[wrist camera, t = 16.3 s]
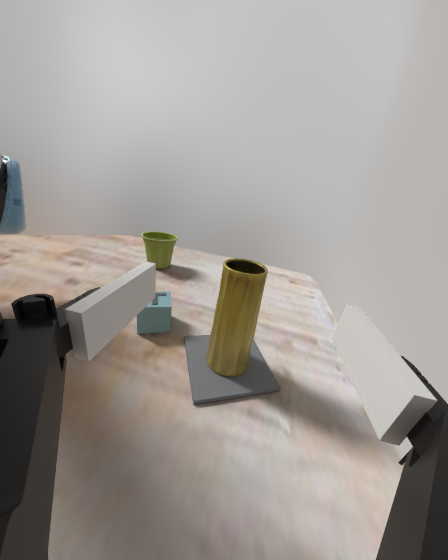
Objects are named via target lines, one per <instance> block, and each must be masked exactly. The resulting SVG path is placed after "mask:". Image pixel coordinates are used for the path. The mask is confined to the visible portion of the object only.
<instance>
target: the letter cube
mask: <svg viewBox="0 0 448 560" xmlns="http://www.w3.org/2000/svg"><path fill="white" fill-rule="evenodd" d="M171 307H172V306H171V293H170V292H155V298H154V299H153V300H152V301H151V302H150V303H149V304H148V305H147V306H146V307H145V308H144V309H143V310H142V311H141V312H140V313H139V314H138V315H137V334H149V333H168V332H170V327H171Z"/></svg>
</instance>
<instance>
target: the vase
mask: <svg viewBox="0 0 448 560" xmlns="http://www.w3.org/2000/svg"><path fill="white" fill-rule="evenodd" d="M267 273H268V270H267V268H266V267H265V266H264V265H262V264H260V263H257V262H255V261H251V260H246V259H229V260H226V261H224V263H223V272H222V278H221V285H220V291H219V296H218V300H217V305H216V309H215V315H214V322H213V327H212V331H211V336H210V341H209V348H208V352H207V354H206V360H207V363H208V365H209V367H210V368H211V369H212V370H213V371H215V372H216V373H218V374H220V375H223V376H238V375H240V374H242V373H244V372H245V371H246V370H247V368H248V366H249V359H250V354H251V348H252V343H253V338H254V333H255V329H256V324H257V318H258V314H259V309H260V304H261V299H262V295H263V290H264V285H265V281H266V277H267Z"/></svg>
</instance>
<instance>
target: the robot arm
mask: <svg viewBox="0 0 448 560" xmlns="http://www.w3.org/2000/svg"><path fill="white" fill-rule="evenodd" d="M25 227H26V221H25V210H24V200H23V190H22V181H21V172H20V165H19V163H18V162H17V161H15V160H14V159H11V158H8V157H6V156H0V235H4V234H19V233H21V232H23V231H24V229H25ZM155 276H156V264H155V263H150V262H144V263H142V264H140V265H139V266H137V267H135V268H134V269H132V270H130V271H129V272H127V273H125V274H124V275H122V276H120V277H118V278H117V279H115V280H113V281H112V282H110V283H108V284H107V285H105V286H103V287H102V288H100V287H98V288H95V289H92V290H89V291H87V292H85V293H84V294H82V295H81V296H78V297H77V298H75V299H73V300H71V301H69V302H68V303H66V304H64V305H62V306H61V307H59V308H57V309H56V307H55V302H54V298H53V296H51V295H48V294H33V295H28V296H24V297H21V298H19V299H17V300H15V301H14V302H13V303H12V307H13V311H14V314H15V317H16V319H3V318H2V315H1V313H0V560H48V542H49V532H50V522H51V512H52V502H53V492H54V481H55V471H56V461H57V451H58V441H59V431H60V421H61V411H62V400H63V390H64V380H65V370H66V355H65V354H66V353H67V352H69V351H70V350H71V349H73V354H74V358H76V359H80V360H83V361H87V362H89V361H90V360H91V359H92V358H93V357H94V356H96V355H97V354H98V353H99V352H100V351H101V350H102V349H103V348H104V347H105V346H106V345H107V344H108V343H109V342H110V341H111V340H112V339H113V338H114V337H115V336H116V335H117V334H118V333H119V332H120V331H121V330H122V329H123V328H124V327H125V326H126V325H127V324H128V323H129V322H130V321H131V320H132V319H133V318H134V317H136V316H137V315H138V314H139V313H140V312H141V311H142V310H143V309H144V308H145V307H146V306H147V305H148V304H149V303H150V302H151V301H152V300H153V299H154V298H155ZM332 340H333V342H334V344H335V346H336V348H337V350H338V353H339V355H340V357H341V359H342V361H343V363H344V365H345V368H346V370H347V372H348V374H349V376H350V378H351V380H352V383H353V385H354V387H355V389H356V391H357V393H358V395H359V398H360V400H361V402H362V404H363V406H364V408H365V410H366V413H367V415H368V417H369V419H370V421H371V423H372V425H373V427H374V430H375V432H376V434H377V436H378V438H379V440H381V441H384V442H388V443H392V444H395V445H400V444H401V443H402V441H403V440H404V439H405V438H406V437H408V439H409V440H410V442H411V444H412V445H413V447H412V449H411V450H410V451H409V452H408V453H407V454H406V455H405V456H404V457H403V458H402V459H401V461H400V462H399V464H401V465H403V464H404V463H405V464H404V468H403V471H402V474H401V478H400V481H399V484H398V488H397V491H396V494H395V498H394V501H393V504H392V508H391V511H390V514H389V518H388V521H387V524H386V528H385V531H384V534H383V538H382V541H381V544H380V548H379V551H378V554H377V558H376V560H448V404H447V403H446V402H445V400H444V399H443V398H442V397H441V396H440V395H439V394H438V392H437V391H436V390H435V389H434V388H433V387H432V386H431V384H429V383H428V381H427V380H426V379H425V377H424V376H422V375H421V373H420V372H419V371H418V369H417V368H416V367H415V366H414V365H413V364H412V363H410V362H409V361H408V360H407V359H405V358H404V357H403V356H400V355H399V354H398V353H397V351H396V350H395V349H394V348H393V347H392V345H391V344H390V343H389V342H388V341H387V340H386V338H385V337H384V336H383V335H382V333H381V332H380V331H379V330H378V329H377V328H376V326H375V325H374V324H373V323H372V322H371V320H370V319H369V318H368V317H367V316H366V314H365V313H364V312H363V311H362V310H361V309H360V307H357V306H353V305H347V306H346V308H345V310H344V312H343V314H342V317H341V319H340V321H339V323H338V325H337V327H336V329H335V332H334V334H333V336H332Z"/></svg>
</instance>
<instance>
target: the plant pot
mask: <svg viewBox="0 0 448 560" xmlns="http://www.w3.org/2000/svg"><path fill="white" fill-rule="evenodd" d="M141 235H142V237H143V241H144V243H145V248H146V255H147V262H150V263H155V264H156V269H165V268H167V267H169V266H170V263H171V258H172V253H173V248H174V244H175V242H176V240H177V236H175V235H173V234H169V233H163V232H144V233H142V234H141Z"/></svg>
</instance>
